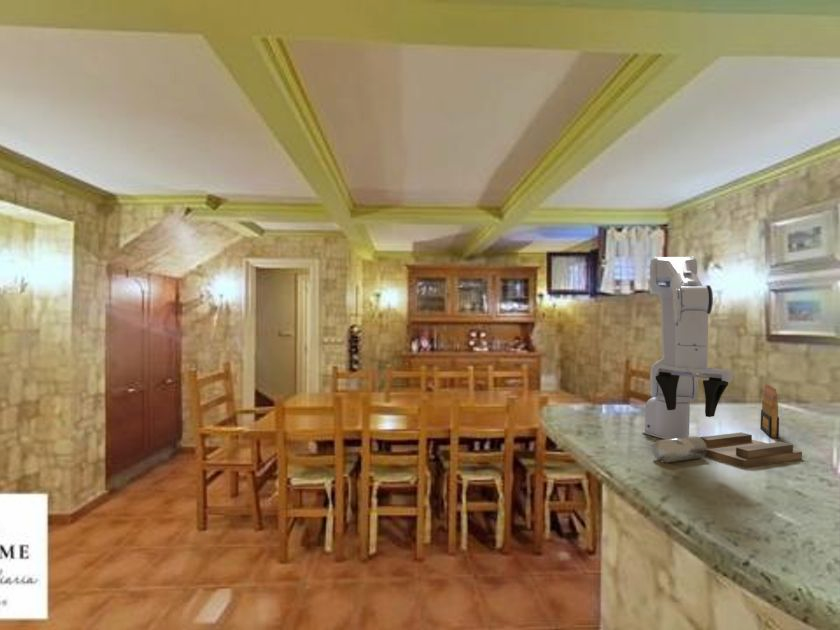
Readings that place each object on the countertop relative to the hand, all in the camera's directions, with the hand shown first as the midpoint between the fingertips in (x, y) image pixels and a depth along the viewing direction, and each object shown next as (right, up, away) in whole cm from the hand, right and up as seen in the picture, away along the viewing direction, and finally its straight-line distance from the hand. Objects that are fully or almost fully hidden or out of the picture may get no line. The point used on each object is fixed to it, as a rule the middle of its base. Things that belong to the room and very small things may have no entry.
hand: (689, 412), depth 99 cm
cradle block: (+14, -10, +5) cm, 18 cm away
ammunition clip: (+34, -10, +25) cm, 43 cm away
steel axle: (-2, -8, +1) cm, 8 cm away
